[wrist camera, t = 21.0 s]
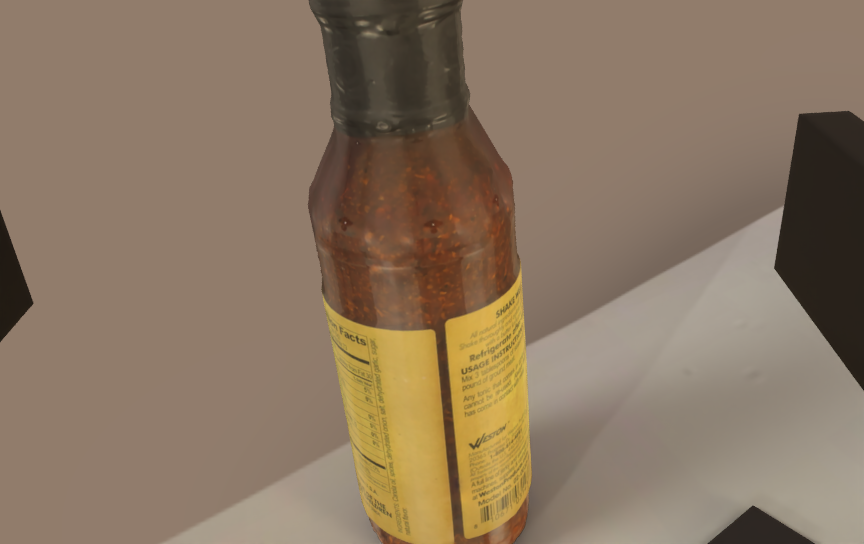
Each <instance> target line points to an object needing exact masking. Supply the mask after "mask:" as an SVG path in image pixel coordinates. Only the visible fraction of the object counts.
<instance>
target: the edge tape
mask: <svg viewBox="0 0 864 544" xmlns="http://www.w3.org/2000/svg"><path fill="white" fill-rule="evenodd" d="M708 544H815V543H813V542H811V541H810V540H808V539H807V538H805V537H803V536H802V535H800V534H799V533H797V532H795V531H794V530H792V529H790V528H789V527H787V526H786V525H784V524H782V523H781V522H779V521H778V520H776V519H774V518H773V517H771V516H769V515H768V514H766V513H765V512H763V511H761V510H760V509H758V508H757V507H755V506H752V507H751V508H749V509H748V510H747V511H746V512H745V513H744V514H742V515H741V516H740V517H739V518H738V519H736V520H735V521H734V522H733V523H732V524H730V525H729V526H728V527H727V528H726V529H724V530H723V531H722V532H721V533H720V534H719V535H717V536H716V537H715V538H714V539H713V540H711V541H710V542H709V543H708Z"/></svg>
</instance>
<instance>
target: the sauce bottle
mask: <svg viewBox="0 0 864 544" xmlns="http://www.w3.org/2000/svg"><path fill="white" fill-rule="evenodd" d="M462 2H463V0H309V5H310V8H311V10H312V12H313V13H314V15H315V17H316V19H317V21H318V22H319V24H320V26H321V31H322V36H323V44H324V49H325V54H326V62H327V67H328V74H329V79H330V86H331V102H330V105H331V117H332V119H333V121H334V129H333V132H332V135H331V138H330V140H329V143H328V145H327V147H326V150H325V152H324V155H323V157H322V160H321V162H320V165H319V167H318V170H317V172H316V175H315V178H314V180H313V182H312V184H311V186H310V189H309V202H308V209H309V213H310V218H311V223H312V227H313V232H314V237H315V242H316V247H317V252H318V258H319V261H320V267H321V273H322V294H323V300H324V305H325V310H326V315H327V321H328V326H329V330H330V335H331V341H332V345H333V351H334V356H335V362H336V367H337V372H338V378H339V383H340V388H341V394H342V399H343V404H344V409H345V413H346V419H347V424H348V430H349V435H350V441H351V446H352V451H353V457H354V463H355V469H356V474H357V479H358V485H359V490H360V495H361V500H362V503H363V506H364V508H365V511H366V513H367V515H368V516H369V520H370V521H371V525H372V527H373V530H374V531H375V532H376V533H377V535H378V538H379V539H380V540H381V542H382V543H383V544H513V543H514V541H515V540H516V538H517V537H518V536H519V535H520V533H521V532H522V530H523V529H524V527H525V523H526V518H527V511H528V505H529V493H528V491H529V488H530V485H531V478H532V470H531V452H530V434H529V410H528V386H527V364H526V344H525V328H524V314H523V313H524V312H523V295H522V276H521V261H520V258H519V256H518V254H517V246H516V236H515V203H514V195H513V180H512V176H511V173H510V170H509V168H508V166H507V165H506V164H505V163H504V161H503V160H502V158H501V157H500V156H499V154H498V152H497V151H496V149H495V147H494V145H493V144H492V142H491V140H490V139H489V137H488V135H487V134H486V132H485V130H484V129H483V127H482V125H481V124H480V122H479V120H478V119H477V117H476V115H475V114H474V112H473V110H472V109H471V107H470V105H469V100H470V92H469V89H468V86H467V84H466V83H465V66H464V59H463V42H462V37H461V36H462V23H461V6H462Z"/></svg>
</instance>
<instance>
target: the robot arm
mask: <svg viewBox="0 0 864 544" xmlns="http://www.w3.org/2000/svg"><path fill="white" fill-rule="evenodd" d="M774 269H775V270H776V271H777V273H778V274H779V276H780V277H781V278H782V280H783V281H784V282H785V284H786V285H787V287H788V288H789V289H790V291H791V292H792V293H793V295H794V296H795V297H796V299H797V300H798V302H799V303H800V304H801V306H802V307H803V308H804V310H805V311H806V312H807V314H808V315H809V317H810V318H811V319H812V321H813V322H814V323H815V325H816V326H817V327H818V329H819V330H820V332H821V333H822V334H823V336H824V337H825V338H826V340H827V341H828V343H829V344H830V345H831V347H832V348H833V349H834V351H835V352H836V353H837V355H838V356H839V358H840V359H841V360H842V362H843V363H844V364H845V366H846V367H847V368H848V370H849V371H850V373H851V374H852V375H853V377H854V378H855V379H856V381H857V382H858V383H859V385H860V386H861V388H862V389H863V390H864V121H862V120H861V119H860V118H858V117H857V116H855V115H854V114H853V113H851V112H849V111H841V112H823V113H807V114H799V118H798V124H797V130H796V136H795V143H794V149H793V156H792V162H791V167H790V174H789V180H788V186H787V192H786V199H785V204H784V211H783V217H782V223H781V229H780V235H779V242H778V248H777V254H776V260H775V266H774ZM32 305H33V301H32V298H31V295H30V292H29V289H28V287H27V284H26V281H25V279H24V276H23V273H22V270H21V267H20V264H19V261H18V259H17V256H16V253H15V250H14V248H13V245H12V242H11V239H10V236H9V233H8V231H7V228H6V225H5V222H4V220H3V217H2V214H1V211H0V342H1V340H2V339H3V338H4V337H5V336H6V335H7V334H8V332H9V331H10V330H11V329H12V328H13V327H14V325H15V324H16V323H17V322H18V321H19V320H20V318H21V317H22V316H23V315H24V314H25V312H27V310H28V309H29V308H30V307H31V306H32Z"/></svg>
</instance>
